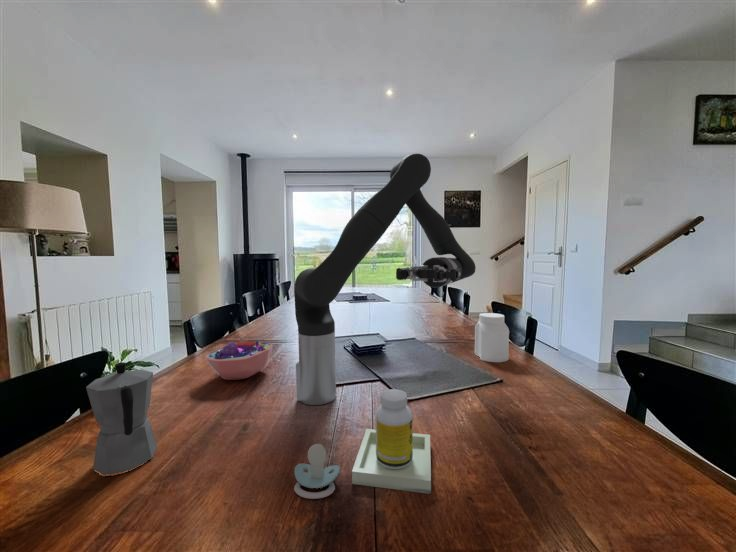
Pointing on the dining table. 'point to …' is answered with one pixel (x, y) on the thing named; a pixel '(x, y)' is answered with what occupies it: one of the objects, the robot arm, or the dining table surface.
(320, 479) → the pacifier
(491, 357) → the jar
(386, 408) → the pill bottle
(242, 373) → the cell model
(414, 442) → the dish
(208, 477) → the dining table surface
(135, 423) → the coffeepot
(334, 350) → the robot arm
